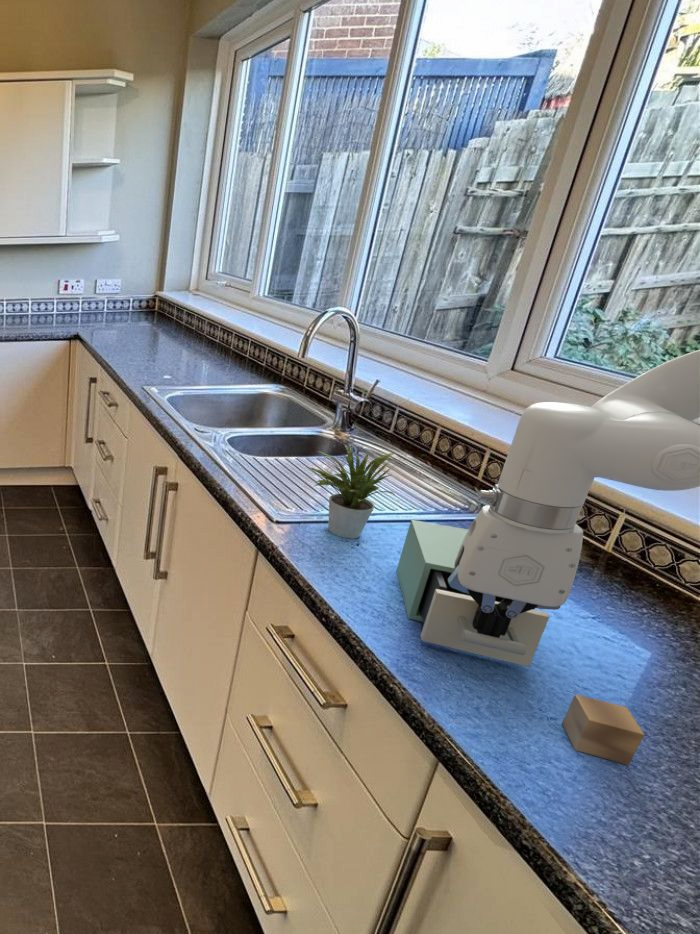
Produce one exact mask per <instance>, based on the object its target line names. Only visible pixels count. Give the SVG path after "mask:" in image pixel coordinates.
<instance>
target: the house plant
mask: <svg viewBox="0 0 700 934" xmlns="http://www.w3.org/2000/svg"><path fill="white" fill-rule="evenodd" d="M344 448H345V450H346V453H347V455H346V454H345V453H342V455H343V456H344V458H345V460H346V463H347V465H348V469H349V474H348V473H347V471H346V470H345V469H346V468H344V466H343V465H342V463H340V461H339V460H338V459H337V458H335V457H334V456H333V455H330V454H328V453H326V452H323V451H319V450H315V449H314V450H315V452H318V453H320V454H323V455H325V456H324V458H325V459H328V460H330V461H332V462H336V464H335V463H332V462H330V461H327V463H328V464H332V465H333V466H334V467H335V469H336V470H337V471H338V473H334V474H331V473H329V472H327V471H324V470H322V469H318V468H314V467H310V466H309V467H308V468H309V469H310V470H312V471H314V474H315V475H318V476H321V477H322V478H323V479H318V480H316V481H314V484H315V483H316V484H315V485H314V487H317V486H331V487H332V488H333V489H334V490H335V492H337V493H335V494H334V493H333V494H332V495H330V496H329V497H328V521H327V523H328V525H327V526H328V527H327V529H328V531H329V532H330V533H331V534H333V535H335V536H337V537H339V538H344V539H351V540H352V539H359V538H360V536H361V534H362V533H363V530H364V528H365V526H366V525H367V523H368V520H369V519H370V516H371V515H372V514H373V513H372V512H373V511H374V509H375V504H374V503H373V502H372V501H371V500H369V499H367V498H368V497H370V496H371V495H374V494H377V493H379V494H380V493H388V494H391V495H393V496H394V497H396V494H395V493H394V492H392V491H389V490H381V491H377V490H378V489H380V487H379V486H377V484H381V483H382V480H385V478H388V477H391V476H392V474H388V472H390V470H392V469H393V468H394V467H395V465H393V466H391V467H390V468H388V469H387V470H386V471H384V472H383V473H382V474H381V475H379V474H380V473H381V472H382V471H383V470H384V469H386V467H387V466H388V465H389V464H390V463H391V460H389V461H387V460H388V459H389V458H390V457H392V456H393V455H395V454H396V452H391V453H387V454H385V455H381V456H378V457H376V458H374V459H373V460H371V461H370V462H369V463H368V464H367V462H368V459H369V453H367V454H365V456H364V458H363V459H362V460H361V462H360V457H359V456H358V454H357V453H354V454H353V452H352V450H351V449H350V448H349V446H347V445H346V444H344ZM354 456H355V461H354ZM386 461H387V462H386ZM354 462H355V463H354ZM385 462H386V463H385ZM383 463H385V464H383ZM337 465H338V466H337ZM381 465H382V466H381ZM380 466H381V467H380ZM339 467H340V468H339ZM379 467H380V468H379ZM377 469H378V470H377ZM386 474H387V475H386ZM378 475H379V476H378ZM377 476H378V477H377ZM376 477H377V478H376Z"/></svg>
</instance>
